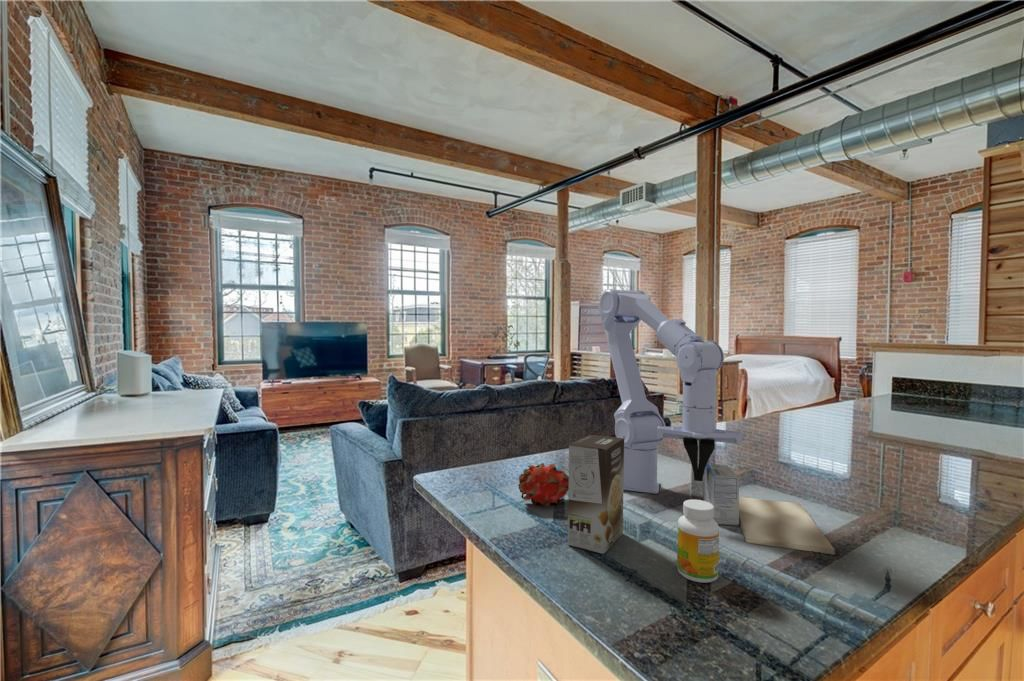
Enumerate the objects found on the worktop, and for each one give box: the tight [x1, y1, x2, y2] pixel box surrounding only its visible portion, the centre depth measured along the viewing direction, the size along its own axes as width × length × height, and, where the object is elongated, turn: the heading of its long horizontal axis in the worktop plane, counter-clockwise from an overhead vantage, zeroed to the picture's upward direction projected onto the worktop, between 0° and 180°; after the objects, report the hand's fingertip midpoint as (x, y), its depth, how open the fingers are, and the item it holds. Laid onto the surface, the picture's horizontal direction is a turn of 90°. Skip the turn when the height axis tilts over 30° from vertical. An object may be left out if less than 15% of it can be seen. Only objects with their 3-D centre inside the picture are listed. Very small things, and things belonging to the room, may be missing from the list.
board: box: [739, 496, 836, 555], centre depth 82 cm, size 12×20×1 cm, turn 161°
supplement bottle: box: [676, 499, 720, 584], centre depth 64 cm, size 5×5×10 cm
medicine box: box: [703, 463, 740, 527], centre depth 84 cm, size 8×4×9 cm, turn 168°
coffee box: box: [567, 434, 624, 555], centre depth 75 cm, size 9×6×16 cm
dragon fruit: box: [517, 462, 569, 507], centre depth 91 cm, size 8×8×12 cm
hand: (698, 479), depth 86 cm, fingers closed
